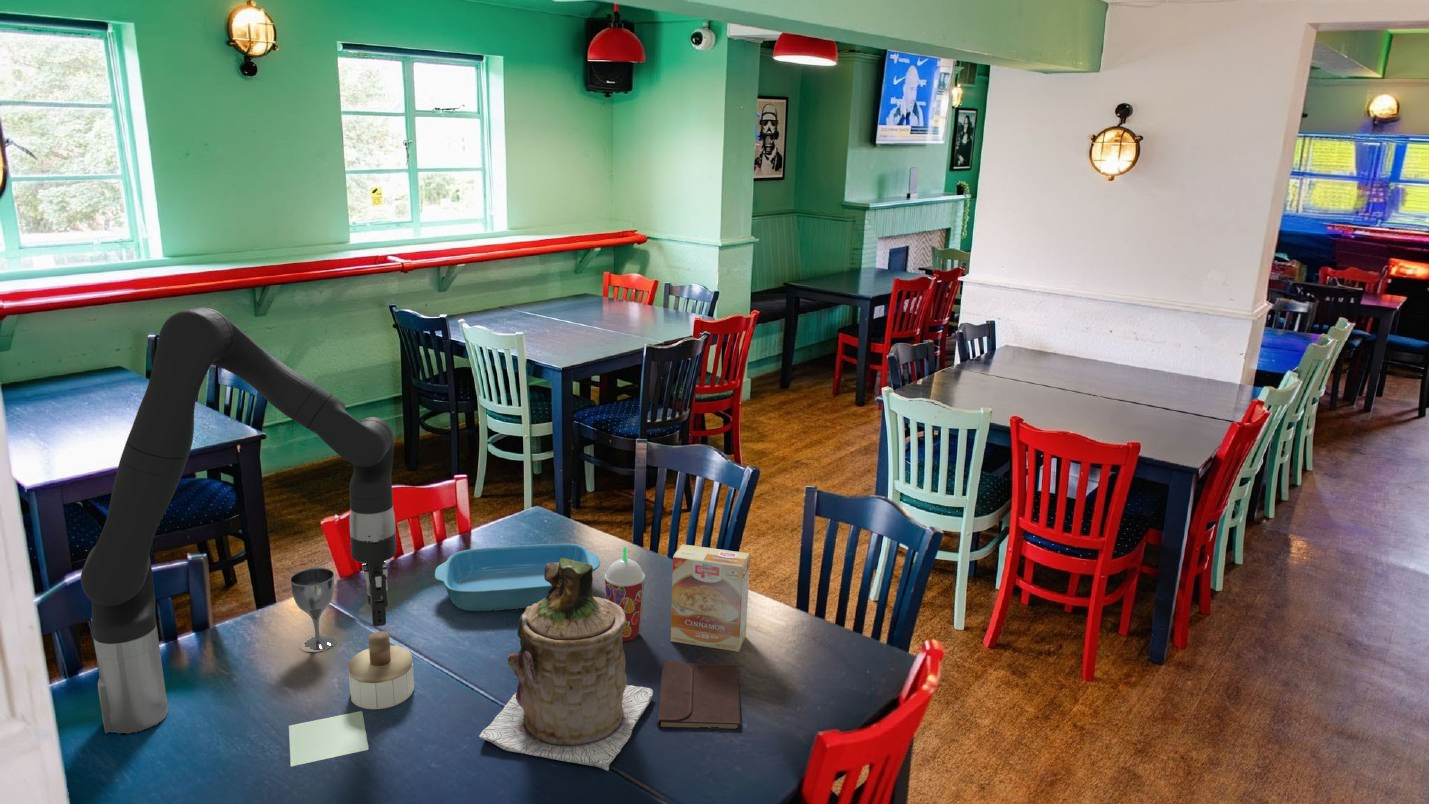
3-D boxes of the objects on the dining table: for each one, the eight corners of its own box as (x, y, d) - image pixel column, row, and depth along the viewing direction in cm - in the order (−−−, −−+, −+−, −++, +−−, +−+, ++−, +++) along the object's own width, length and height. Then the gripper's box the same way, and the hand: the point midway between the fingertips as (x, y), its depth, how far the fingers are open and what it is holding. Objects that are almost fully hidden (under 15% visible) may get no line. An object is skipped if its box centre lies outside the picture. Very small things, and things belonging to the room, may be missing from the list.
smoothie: (646, 626, 203) (648, 541, 198) (640, 646, 195) (641, 557, 190) (608, 623, 204) (609, 538, 199) (600, 643, 196) (600, 554, 191)
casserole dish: (433, 622, 203) (431, 592, 201) (439, 576, 224) (437, 548, 222) (604, 609, 211) (605, 580, 209) (595, 566, 232) (595, 539, 230)
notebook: (737, 671, 188) (738, 662, 188) (740, 731, 169) (741, 721, 169) (662, 669, 188) (662, 660, 188) (657, 728, 169) (657, 719, 169)
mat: (291, 770, 154) (290, 766, 154) (289, 729, 164) (288, 725, 164) (368, 753, 159) (368, 749, 159) (362, 714, 169) (362, 710, 169)
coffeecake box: (669, 642, 198) (671, 556, 193) (678, 626, 204) (681, 542, 199) (739, 653, 194) (743, 566, 189) (746, 636, 201) (750, 552, 196)
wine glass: (310, 658, 187) (304, 589, 183) (289, 644, 191) (282, 577, 187) (346, 642, 193) (341, 575, 189) (325, 629, 198) (319, 564, 194)
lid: (351, 688, 167) (349, 656, 165) (346, 657, 176) (344, 627, 175) (416, 675, 171) (414, 645, 170) (408, 646, 181) (406, 617, 179)
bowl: (353, 718, 168) (351, 688, 167) (348, 686, 178) (346, 657, 176) (417, 705, 173) (416, 676, 171) (409, 674, 182) (408, 646, 181)
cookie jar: (657, 696, 178) (661, 539, 170) (609, 777, 155) (610, 600, 147) (537, 674, 184) (535, 521, 176) (474, 748, 162) (468, 577, 153)
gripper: (347, 518, 171) (351, 600, 175) (353, 549, 159) (358, 636, 163) (390, 513, 174) (394, 594, 178) (400, 543, 162) (403, 629, 166)
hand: (377, 614), depth 171 cm, fingers open, 8 cm apart
